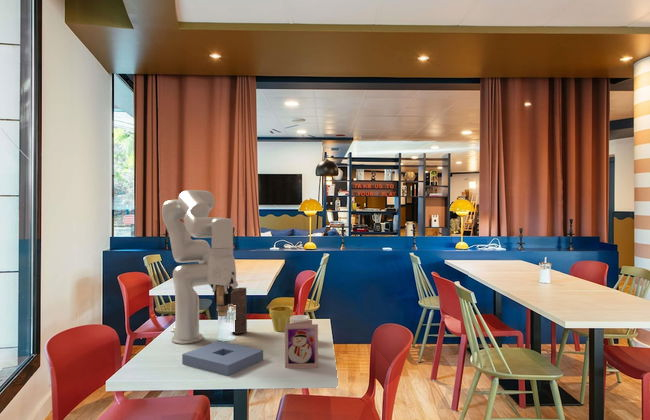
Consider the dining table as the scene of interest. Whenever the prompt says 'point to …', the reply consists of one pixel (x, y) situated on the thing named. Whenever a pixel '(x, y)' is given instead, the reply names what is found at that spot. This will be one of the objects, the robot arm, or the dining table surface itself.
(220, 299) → the leg peg
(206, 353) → the board
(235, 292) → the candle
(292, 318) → the white cup
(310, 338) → the greeting card
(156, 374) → the dining table surface
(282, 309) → the plant pot
